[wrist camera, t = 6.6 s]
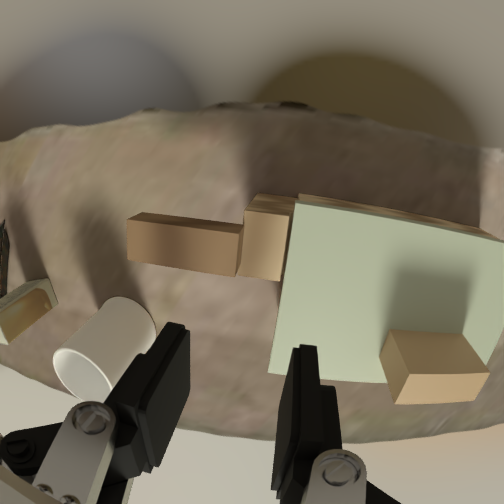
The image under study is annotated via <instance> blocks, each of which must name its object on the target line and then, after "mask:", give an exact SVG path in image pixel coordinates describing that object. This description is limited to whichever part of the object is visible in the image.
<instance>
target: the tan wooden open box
mask: <svg viewBox="0 0 504 504" xmlns="http://www.w3.org/2000/svg"><path fill="white" fill-rule="evenodd" d="M295 200H299V201H306V202H313V203H319V204H326V205H332V206H338V207H344V208H350V209H356V210H362V211H368V212H373V213H379V214H384V215H390V216H395V217H400V218H405V219H410V220H415V221H420V222H425V223H430V224H435V225H439V226H444V227H449V228H453V229H458V230H462V231H466V232H471V233H475V234H479V235H483V236H488V237H492V238H496V239H499V238H497V237H495V236H493V235H491V234H489V233H487V232H485V231H484V230H482V229H480V228H476V227H472V226H468V225H464V224H459V223H455V222H451V221H446V220H442V219H438V218H433V217H428V216H424V215H419V214H414V213H409V212H404V211H399V210H394V209H389V208H384V207H379V206H373V205H368V204H362V203H356V202H351V201H345V200H339V199H333V198H326V197H320V196H314V195H307V194H300V193H298V198H293V197H286V196H279V195H272V194H264V193H257V195H256V196H255V197H254V199H253V200H252V201H251V202H250V204H249V205H248V206H247V208H246V209H245V210H244V218H243V225H245V226H244V236H243V245H242V255H241V264H240V267H239V269H238V275H240V276H246V277H253V278H260V279H267V280H273V281H280V276H281V274H284V272H285V266H286V259H287V253H288V246H289V240H290V233H291V226H292V219H293V212H294V205H295Z"/></svg>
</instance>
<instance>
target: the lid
mask: <svg viewBox="0 0 504 504" xmlns="http://www.w3.org/2000/svg"><path fill="white" fill-rule="evenodd" d="M503 328H504V240H500V239H496V238H492V237H488V236H483V235H479V234H475V233H471V232H466V231H462V230H458V229H453V228H449V227H444V226H439V225H435V224H430V223H425V222H420V221H415V220H410V219H405V218H400V217H395V216H390V215H384V214H379V213H373V212H368V211H362V210H356V209H350V208H344V207H338V206H332V205H326V204H319V203H313V202H306V201H299V200H295V205H294V212H293V219H292V226H291V233H290V240H289V246H288V253H287V259H286V266H285V272H284V278H283V285H282V291H281V297H280V303H279V309H278V315H277V321H276V327H275V332H274V338H273V344H272V349H271V355H270V360H269V367H268V373H275V374H283V375H287V371H288V367H289V362H290V358H291V353H292V349H293V347H295V348H299V345H300V344H306V345H315V346H317V352H318V363H319V375H320V379H329V380H341V381H355V382H373V383H388V386H389V389H390V392H391V395H392V398H393V401H394V404H431V403H449V402H463V401H473V400H474V399H475V398H476V396H477V395H478V393H479V391H480V390H481V388H482V386H483V385H484V383H485V381H486V379H487V378H488V376H489V374H490V371H489V370H488V368H487V367H486V364H487V362H488V360H489V358H490V356H491V354H492V352H493V350H494V348H495V346H496V344H497V342H498V339H499V337H500V335H501V333H502V331H503Z"/></svg>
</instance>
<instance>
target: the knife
mask: <svg viewBox="0 0 504 504" xmlns="http://www.w3.org/2000/svg"><path fill="white" fill-rule="evenodd" d="M4 222H5V220H4V221H3V222H2V224H1V225H0V268H1V280H0V299H1V298H2V297H4V296H5V295H6V284H7V265H8V253H9V244H8V240H7V236H6V231H5V229H4ZM3 231H4V237H3ZM2 240H3V247H2ZM1 255H2V261H1Z"/></svg>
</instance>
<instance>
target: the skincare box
mask: <svg viewBox="0 0 504 504" xmlns="http://www.w3.org/2000/svg"><path fill="white" fill-rule="evenodd" d="M57 304H58V302H57V300H56V297H55V294H54V291H53V289H52V286H51V283H50V280H49V279H48V278H47V279H39V280H33V281H29V282H26V283H24V284H22V285H21V286H19V287H18V288H16V289H15V290H13V291H11V292H10V293H8V294H7V295H5V296H4V297H2V298H1V299H0V344H5V345H8V344H9V343H11V342H12V341H13V340H14V339H15V338H17V337H18V336H19V335H20V334H21V333H23V332H24V331H25V330H26V329H27V328H29V327H30V326H31V325H32V324H33V323H35V322H36V321H37V320H38V319H40V318H41V317H42V316H43V315H45V314H46V313H47V312H49V311H50V310H51V309H52V308H54V307H55V306H56V305H57Z"/></svg>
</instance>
